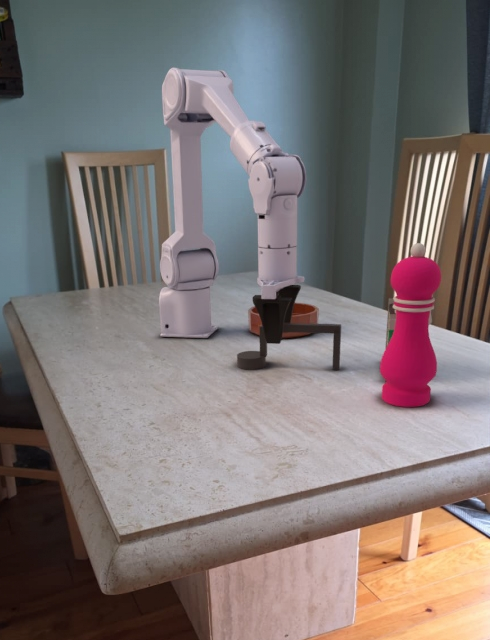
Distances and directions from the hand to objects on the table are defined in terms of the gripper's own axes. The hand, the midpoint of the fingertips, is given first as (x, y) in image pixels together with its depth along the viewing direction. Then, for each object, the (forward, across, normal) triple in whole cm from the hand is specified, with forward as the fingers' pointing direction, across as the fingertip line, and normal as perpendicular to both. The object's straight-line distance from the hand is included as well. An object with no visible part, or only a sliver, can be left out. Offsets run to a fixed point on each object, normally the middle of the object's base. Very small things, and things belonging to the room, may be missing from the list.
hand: (277, 337), depth 97 cm
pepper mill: (+5, -12, -20) cm, 24 cm away
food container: (+5, 0, -20) cm, 20 cm away
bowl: (+5, +24, +3) cm, 24 cm away
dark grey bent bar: (+5, 0, -2) cm, 5 cm away
